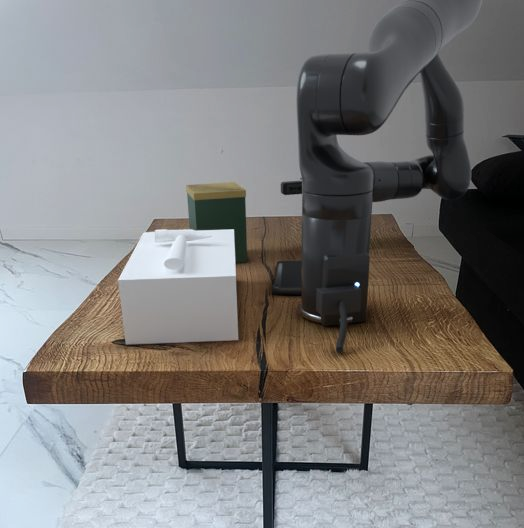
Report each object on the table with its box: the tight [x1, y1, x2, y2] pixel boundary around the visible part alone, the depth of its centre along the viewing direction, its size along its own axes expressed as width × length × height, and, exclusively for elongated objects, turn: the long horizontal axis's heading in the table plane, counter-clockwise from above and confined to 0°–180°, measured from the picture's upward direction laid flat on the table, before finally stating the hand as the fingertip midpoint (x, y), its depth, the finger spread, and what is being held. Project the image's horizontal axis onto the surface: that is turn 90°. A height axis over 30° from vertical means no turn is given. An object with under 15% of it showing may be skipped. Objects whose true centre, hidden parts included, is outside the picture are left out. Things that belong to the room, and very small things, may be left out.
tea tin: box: [185, 181, 248, 264], centre depth 111 cm, size 9×9×13 cm
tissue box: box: [117, 228, 239, 346], centre depth 87 cm, size 14×25×11 cm, turn 3°
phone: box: [272, 260, 301, 296], centre depth 100 cm, size 8×1×15 cm
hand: (282, 188), depth 111 cm, fingers closed
